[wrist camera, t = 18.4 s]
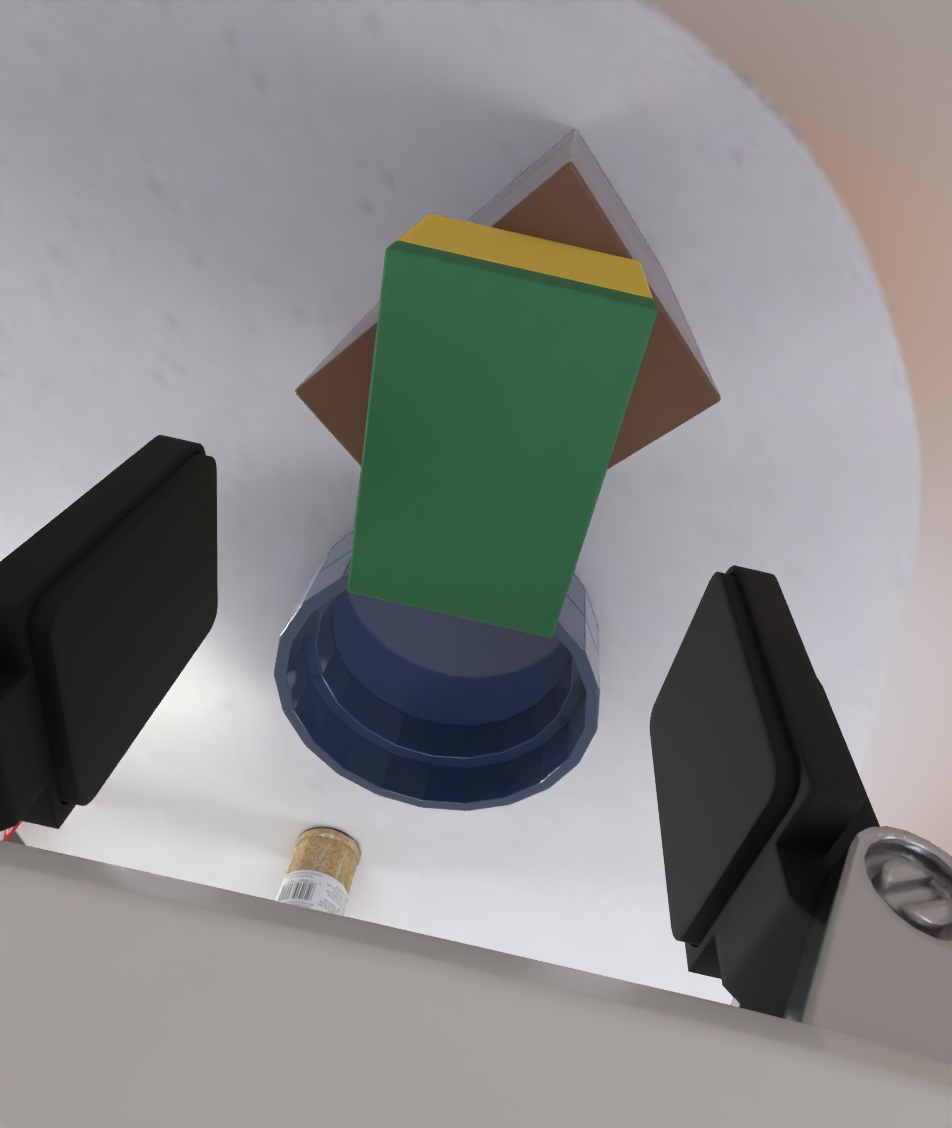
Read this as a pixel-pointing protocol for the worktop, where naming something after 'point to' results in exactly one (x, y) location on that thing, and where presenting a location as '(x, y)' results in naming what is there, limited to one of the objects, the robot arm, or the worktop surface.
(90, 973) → the robot arm
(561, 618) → the bowl
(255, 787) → the worktop surface
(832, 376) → the worktop surface
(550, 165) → the sponge stand
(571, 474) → the sponge
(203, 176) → the worktop surface
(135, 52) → the worktop surface
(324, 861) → the spice jar
